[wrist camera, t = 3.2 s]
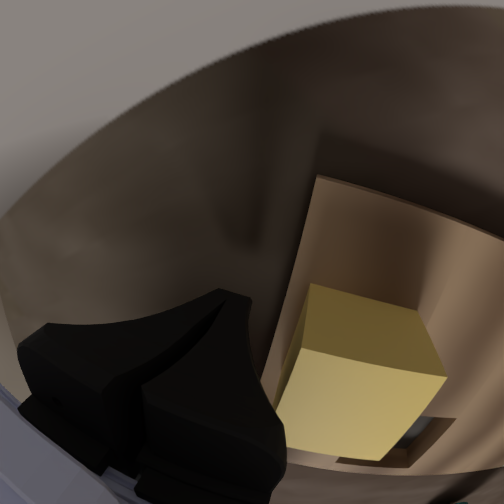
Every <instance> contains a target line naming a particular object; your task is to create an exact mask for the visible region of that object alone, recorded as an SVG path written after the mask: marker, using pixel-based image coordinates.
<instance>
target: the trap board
mask: <svg viewBox="0 0 504 504" xmlns="http://www.w3.org/2000/svg"><path fill="white" fill-rule="evenodd" d="M310 283H312V284H316V285H320V286H323V287H327V288H331V289H335V290H339V291H342V292H346V293H350V294H354V295H358V296H361V297H365V298H369V299H373V300H377V301H381V302H384V303H388V304H392V305H396V306H400V307H404V308H408V309H412V310H416V311H418V313H419V315H420V317H421V319H422V321H423V323H424V325H425V327H426V330H427V332H428V334H429V336H430V338H431V340H432V342H433V344H434V347H435V349H436V351H437V353H438V356H439V358H440V360H441V362H442V365H443V367H444V370H445V372H446V374H447V377H448V378H447V379H446V381H445V382H444V383H443V385H442V386H441V388H440V389H439V391H438V392H437V393H436V395H435V396H434V398H433V399H432V400H431V402H430V403H429V404H428V405H427V407H426V408H425V409H424V411H423V412H422V413H421V414H420V416H419V417H418V418H417V419H416V421H415V422H414V423H413V424H412V425H411V427H410V428H409V429H408V430H407V431H406V433H405V434H404V435H403V436H402V437H401V438H400V439H399V440H398V442H397V443H396V444H395V445H394V446H393V447H392V448H391V449H390V450H389V451H388V452H387V453H386V454H385V455H384V456H383V457H382V458H381V459H380V461H376V460H365V459H356V458H347V457H340V456H333V455H327V454H321V453H315V452H310V451H304V450H299V449H295V448H290V447H287V462H289V463H294V464H299V465H305V466H310V467H316V468H322V469H329V470H336V471H344V472H354V473H365V474H379V475H439V474H453V473H464V472H472V471H480V470H486V469H492V468H498V467H503V466H504V238H502V237H499V236H497V235H495V234H493V233H490V232H488V231H486V230H483V229H481V228H479V227H476V226H474V225H471V224H469V223H466V222H464V221H461V220H459V219H456V218H454V217H451V216H449V215H446V214H443V213H441V212H438V211H435V210H433V209H430V208H427V207H424V206H421V205H419V204H416V203H413V202H410V201H407V200H404V199H401V198H398V197H395V196H392V195H389V194H386V193H382V192H379V191H376V190H373V189H369V188H366V187H363V186H359V185H356V184H352V183H349V182H345V181H342V180H338V179H334V178H331V177H327V176H323V175H319V174H317V177H316V181H315V185H314V189H313V194H312V198H311V202H310V206H309V210H308V214H307V218H306V222H305V226H304V230H303V234H302V238H301V242H300V246H299V249H298V253H297V257H296V261H295V265H294V268H293V272H292V276H291V279H290V283H289V286H288V290H287V294H286V297H285V301H284V304H283V308H282V311H281V315H280V318H279V322H278V325H277V328H276V332H275V335H274V338H273V342H272V345H271V348H270V352H269V355H268V358H267V361H266V365H265V368H264V371H263V374H262V377H261V381H260V382H261V384H262V387H263V389H264V391H265V394H266V395H267V397H268V399H269V401H270V403H271V405H273V401H274V397H275V394H276V390H277V386H278V382H279V378H280V374H281V370H282V367H283V364H284V362H285V359H286V356H287V353H288V350H289V347H290V345H291V342H292V339H293V336H294V333H295V330H296V327H297V324H298V321H299V318H300V315H301V312H302V308H303V305H304V302H305V299H306V296H307V293H308V289H309V286H310Z"/></svg>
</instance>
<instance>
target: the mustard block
mask: <svg viewBox="0 0 504 504" xmlns="http://www.w3.org/2000/svg"><path fill="white" fill-rule="evenodd" d="M447 378H448V377H447V374H446V372H445V370H444V367H443V365H442V362H441V360H440V358H439V356H438V353H437V351H436V349H435V347H434V344H433V342H432V340H431V338H430V336H429V334H428V332H427V330H426V327H425V325H424V323H423V321H422V319H421V317H420V315H419V313H418V311H416V310H412V309H408V308H404V307H400V306H396V305H392V304H388V303H384V302H381V301H377V300H373V299H369V298H365V297H361V296H358V295H354V294H350V293H346V292H342V291H339V290H335V289H331V288H327V287H323V286H320V285H316V284H312V283H310V286H309V289H308V293H307V296H306V299H305V302H304V305H303V308H302V312H301V315H300V318H299V321H298V324H297V327H296V330H295V333H294V336H293V339H292V342H291V345H290V347H289V350H288V353H287V356H286V359H285V362H284V364H283V367H282V370H281V374H280V378H279V382H278V386H277V390H276V394H275V397H274V401H273V405H272V407H273V408H274V410H275V412H276V413H277V415H278V417H279V418H280V420H281V421H282V423H283V424H284V429H285V436H286V445H287V447H290V448H295V449H299V450H304V451H310V452H315V453H321V454H327V455H333V456H340V457H347V458H356V459H365V460H376V461H380V459H381V458H382V457H383V456H384V455H385V454H386V453H387V452H388V451H389V450H390V449H391V448H392V447H393V446H394V445H395V444H396V443H397V442H398V440H399V439H400V438H401V437H402V436H403V435H404V434H405V433H406V431H407V430H408V429H409V428H410V427H411V425H412V424H413V423H414V422H415V421H416V419H417V418H418V417H419V416H420V414H421V413H422V412H423V411H424V409H425V408H426V407H427V405H428V404H429V403H430V402H431V400H432V399H433V398H434V396H435V395H436V393H437V392H438V391H439V389H440V388H441V386H442V385H443V383H444V382H445V381H446V379H447Z"/></svg>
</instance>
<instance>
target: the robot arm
mask: <svg viewBox="0 0 504 504" xmlns="http://www.w3.org/2000/svg"><path fill="white" fill-rule="evenodd" d="M251 305H252V300H251V298H250V297H247V296H243V295H240V294H236V293H233V292H229V291H226V290H223V289H219V288H218V289H216V290H214V291H212V292H209V293H207V294H205V295H203V296H201V297H199V298H197V299H194V300H192V301H190V302H188V303H185V304H183V305H180V306H178V307H175V308H172V309H170V310H167V311H164V312H161V313H158V314H155V315H151V316H147V317H143V318H139V319H135V320H129V321H122V322H116V323H108V324H93V325H72V324H55V323H47V324H45V325H44V326H42V327H41V328H40V329H38V330H37V331H36V332H34V333H33V334H31V335H30V336H29V337H27V338H26V339H25V340H23V341H22V342H21V343H19V345H18V348H17V355H18V361H19V364H20V367H21V370H22V372H23V375H24V377H25V379H26V382H27V384H28V386H29V389H30V391H31V393H32V395H30V396H29V397H28V398H27V399H26V400H25V401H24V402H23V403H21V402H19V401H18V400H17V399H16V398H15V397H14V396H13V395H12V394H11V393H10V392H9V391H8V390H7V389H5V387H4V386H2V385H1V383H0V504H269V501H270V497H271V493H272V491H273V490H274V489H275V487H276V486H277V485H278V483H279V482H280V481H281V479H282V478H283V476H284V474H285V471H286V465H287V445H286V436H285V429H284V424H283V423H282V421H281V420H280V418H279V417H278V415H277V413H276V412H275V410H274V408H273V407H272V405H271V403H270V401H269V399H268V397H267V395H266V394H265V391H264V389H263V387H262V384H261V382H260V379H259V377H258V374H257V372H256V368H255V365H254V362H253V358H252V353H251V348H250V342H249V334H248V318H249V314H250V310H251Z"/></svg>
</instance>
